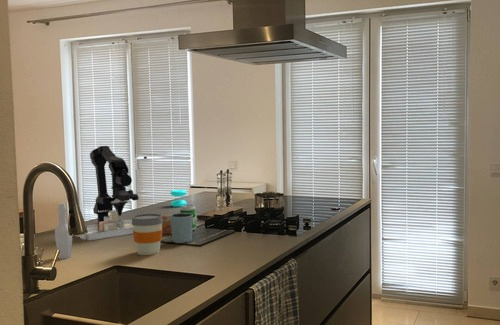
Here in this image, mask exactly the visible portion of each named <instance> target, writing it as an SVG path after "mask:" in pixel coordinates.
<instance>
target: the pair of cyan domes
mask: <svg viewBox="0 0 500 325" xmlns="http://www.w3.org/2000/svg"><path fill="white" fill-rule="evenodd" d="M170 195H171V196H172V197H176V198H177V197H179V198H180V197H184V196H186V195H187V190H186V189H174V190H171V192H170ZM187 204H188V202H187V201H186V200H184V199H176V200H173V201H171V203H170V205H171V206H172V207H174V208H181V207H182V206H184V205H187Z"/></svg>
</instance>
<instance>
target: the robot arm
mask: <svg viewBox="0 0 500 325" xmlns="http://www.w3.org/2000/svg"><path fill="white" fill-rule="evenodd" d="M89 158H90V160H91V161H90V162H91V164H92V165H93V166H94V168H95V169H94V170H95V176H96V186H97V196H96V198H95V204H94V206H93V208H92V210H93V214H95V215H97V222H96V223H95V224H99V222H102V221H104V216H108V217H109V211H112V210H116V211H117V214H118V217H121V216H122V214H123V210H124V207H125V205H126V204H128V202H129V201H130V200H131V201H138V200H139V195H138V194H137V193H134V190H133V189H128V190H127V187H129V186H130V185H131V184H132V181H133V179H132V176H130V174H129V173H130V172H129V166H128V165H127V163H126V161H125V160H124V158H123V157H119V156H117V155H116V154H115V153H114V152H113V151H112V150H111V149H110V146H108V145H100V146H98V147H97V148H95V149H93V150H92V151H91V152H89ZM107 163H108V169H109V170H110V172H111V173H110V175H111V184H112V186H111V187H110V188H111V190H112V195H110V194H108V187H107V177H106V176H107V175H106V169H105V168H106V164H107ZM113 208H114V209H113ZM95 224H94V225H95Z"/></svg>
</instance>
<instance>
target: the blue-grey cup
mask: <svg viewBox="0 0 500 325" xmlns="http://www.w3.org/2000/svg"><path fill="white" fill-rule="evenodd" d="M169 216H170V219H171V228H172V234H171V236H172V238H171V239H172V240H171V241H172V243H174V242H175V243H174V244H186V243H185V242H188V243H190V241H191V242H192V239H193V238H192V236H193V231H192V220H193V214H191V213H180V212H175V213H172V214H170V215H169Z"/></svg>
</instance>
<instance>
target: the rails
mask: <svg viewBox="0 0 500 325" xmlns="http://www.w3.org/2000/svg"><path fill="white" fill-rule="evenodd" d="M122 221H124V224H126V223H128V224H131V225H132V218H131V219H125V220H122ZM86 226H87V228H89V227H96V226H98V231H99V224H90V225H86ZM128 235H133V227H127V228H121V229H114V230H107V231H101V232H94V233H88V234H87V240H86V241H88V240H89V241H95V240H102V239H109V238H115V237H121V236H128ZM89 241H88V242H89Z"/></svg>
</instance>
